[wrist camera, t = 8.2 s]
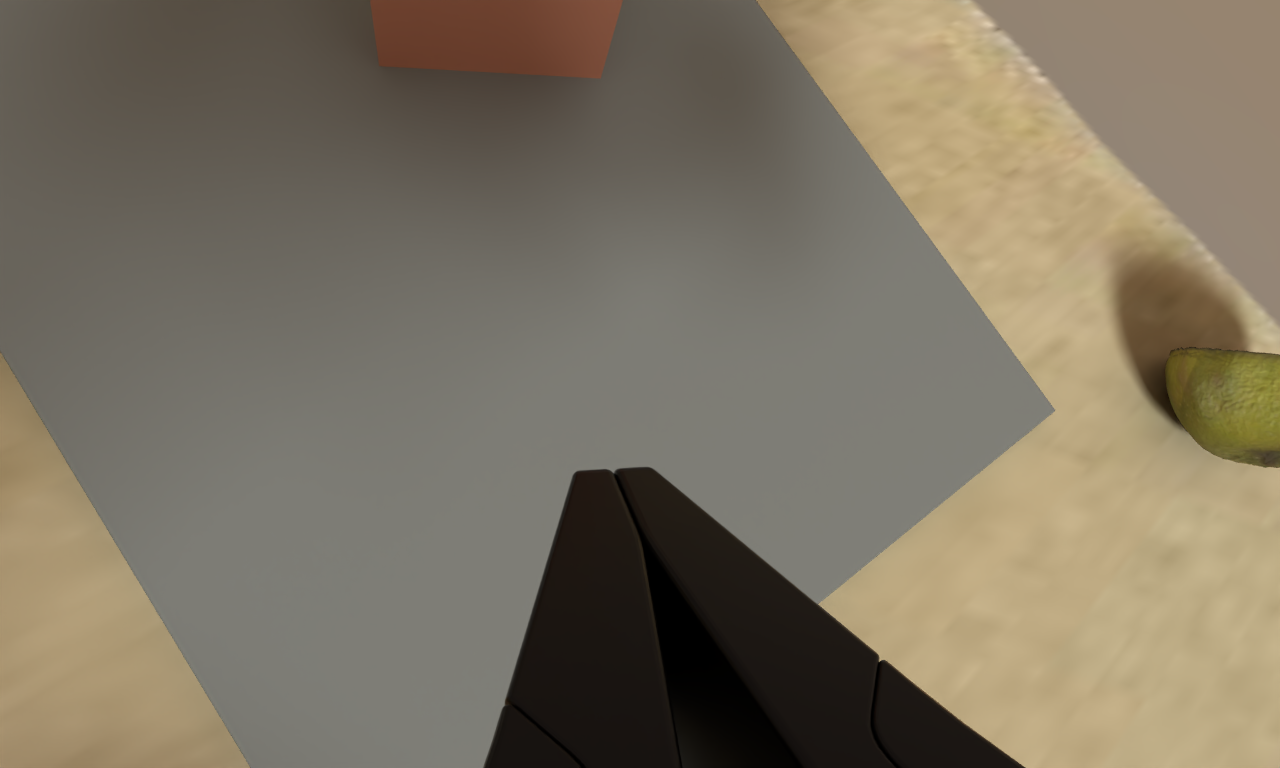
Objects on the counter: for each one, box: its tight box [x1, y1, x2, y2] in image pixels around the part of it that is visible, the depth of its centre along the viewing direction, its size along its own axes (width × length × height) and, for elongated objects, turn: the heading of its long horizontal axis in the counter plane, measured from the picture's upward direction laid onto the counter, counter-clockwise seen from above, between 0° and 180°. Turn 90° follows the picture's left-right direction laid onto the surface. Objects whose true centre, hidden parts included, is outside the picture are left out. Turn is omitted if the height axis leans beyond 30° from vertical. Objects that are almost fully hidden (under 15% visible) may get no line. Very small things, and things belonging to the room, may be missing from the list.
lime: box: [1165, 347, 1280, 468], centre depth 23 cm, size 4×5×5 cm
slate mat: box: [0, 0, 1055, 768], centre depth 22 cm, size 26×22×1 cm
